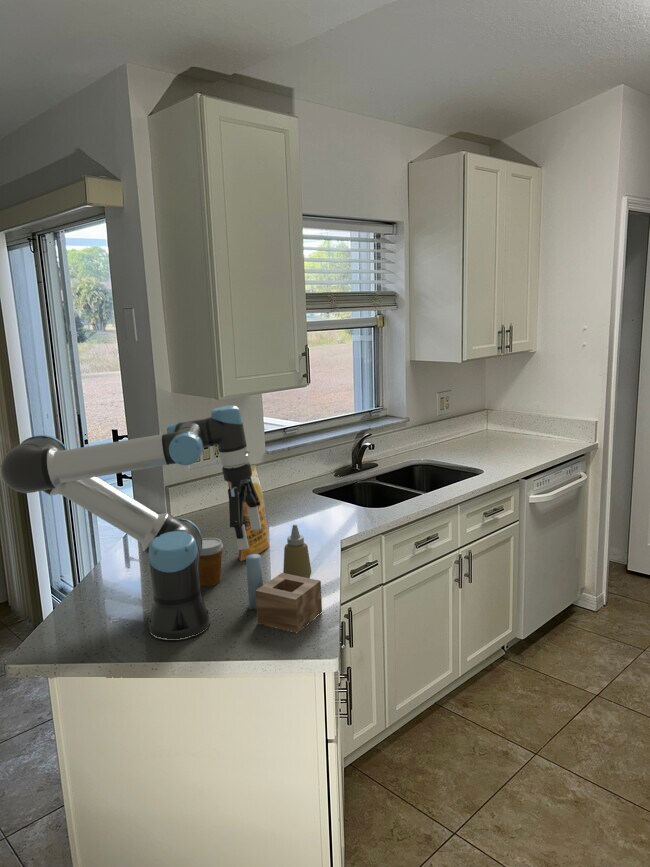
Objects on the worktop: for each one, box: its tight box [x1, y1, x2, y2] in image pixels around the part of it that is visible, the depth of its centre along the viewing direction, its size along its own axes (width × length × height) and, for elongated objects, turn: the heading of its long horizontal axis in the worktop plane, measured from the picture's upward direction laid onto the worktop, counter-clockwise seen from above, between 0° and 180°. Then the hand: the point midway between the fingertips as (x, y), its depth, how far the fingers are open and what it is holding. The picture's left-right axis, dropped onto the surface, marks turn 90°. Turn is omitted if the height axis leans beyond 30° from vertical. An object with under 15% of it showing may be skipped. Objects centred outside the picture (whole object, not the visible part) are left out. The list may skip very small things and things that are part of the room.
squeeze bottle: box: [282, 524, 312, 579], centre depth 191 cm, size 8×8×18 cm
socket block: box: [255, 572, 323, 634], centre depth 172 cm, size 12×12×9 cm
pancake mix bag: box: [227, 463, 270, 562], centre depth 216 cm, size 7×19×28 cm, turn 153°
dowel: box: [245, 554, 264, 610], centre depth 179 cm, size 4×4×14 cm
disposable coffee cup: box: [199, 537, 224, 587], centre depth 196 cm, size 10×10×12 cm
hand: (250, 538), depth 182 cm, fingers open, 13 cm apart
